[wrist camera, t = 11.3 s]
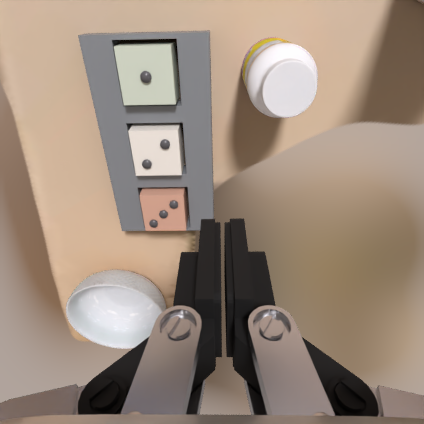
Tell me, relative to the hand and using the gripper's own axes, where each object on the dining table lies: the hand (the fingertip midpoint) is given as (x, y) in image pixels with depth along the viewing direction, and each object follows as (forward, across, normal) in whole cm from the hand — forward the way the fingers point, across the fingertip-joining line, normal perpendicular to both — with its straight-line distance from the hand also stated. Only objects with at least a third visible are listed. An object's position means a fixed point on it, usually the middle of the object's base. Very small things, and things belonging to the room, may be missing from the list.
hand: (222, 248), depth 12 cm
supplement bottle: (+31, -6, -2) cm, 32 cm away
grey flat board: (+31, +8, +7) cm, 33 cm away
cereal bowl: (+31, +18, +36) cm, 51 cm away
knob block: (+31, +8, -2) cm, 32 cm away
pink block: (+31, +8, +16) cm, 36 cm away
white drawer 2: (+31, +8, +7) cm, 32 cm away
